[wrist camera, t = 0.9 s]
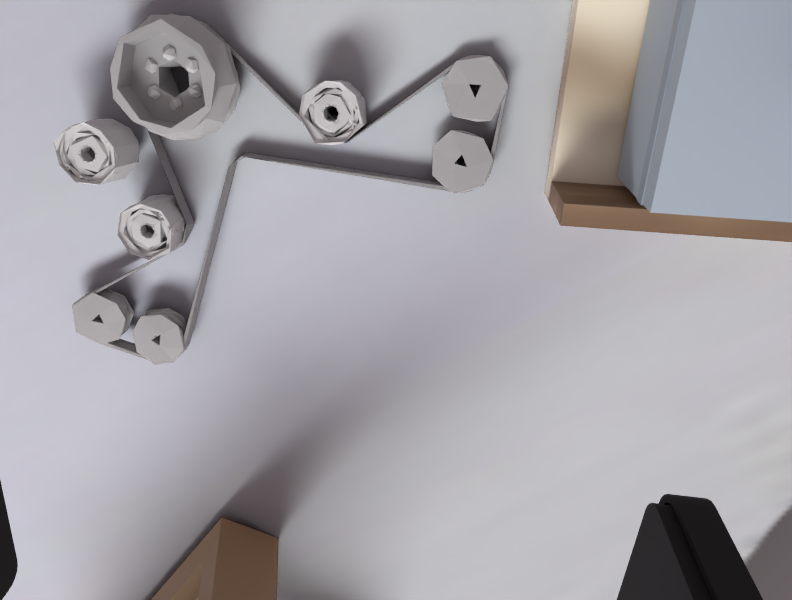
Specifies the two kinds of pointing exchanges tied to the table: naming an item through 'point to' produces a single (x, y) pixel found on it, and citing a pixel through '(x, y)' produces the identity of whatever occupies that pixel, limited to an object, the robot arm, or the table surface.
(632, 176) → the square socket plate
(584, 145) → the bay
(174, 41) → the pulley system
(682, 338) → the table surface
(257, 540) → the photo frame
